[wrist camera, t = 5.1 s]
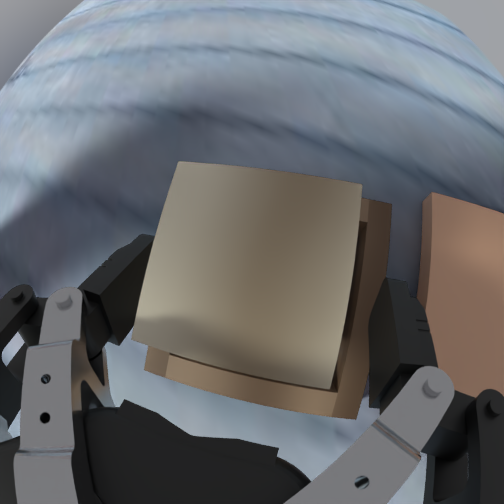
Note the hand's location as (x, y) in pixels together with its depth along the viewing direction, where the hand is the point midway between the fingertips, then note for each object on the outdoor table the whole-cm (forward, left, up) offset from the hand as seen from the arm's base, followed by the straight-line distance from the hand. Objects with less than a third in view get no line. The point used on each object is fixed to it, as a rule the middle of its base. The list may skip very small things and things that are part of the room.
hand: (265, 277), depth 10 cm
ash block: (0, 0, -6) cm, 6 cm away
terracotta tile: (+14, 0, -6) cm, 15 cm away
